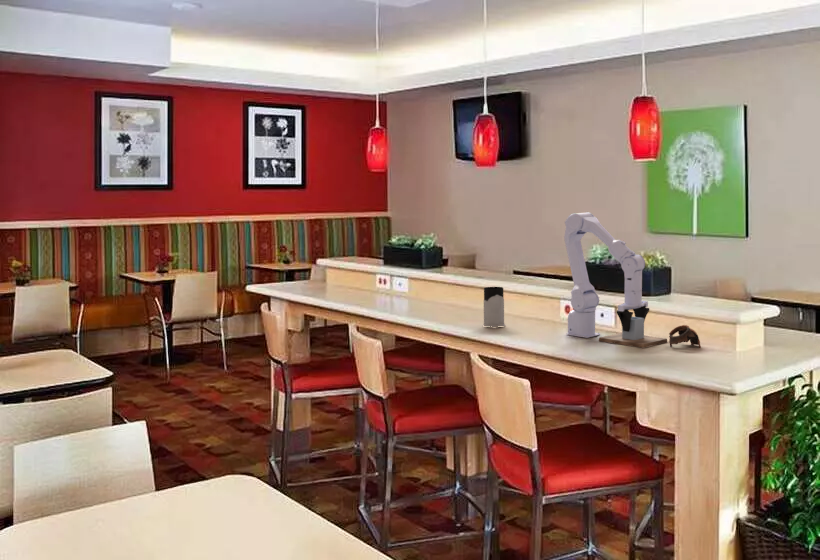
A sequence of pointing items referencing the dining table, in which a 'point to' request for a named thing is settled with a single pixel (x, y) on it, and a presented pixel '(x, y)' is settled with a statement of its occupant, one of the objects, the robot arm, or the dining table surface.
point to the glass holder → (493, 306)
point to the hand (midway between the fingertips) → (632, 329)
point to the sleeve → (635, 329)
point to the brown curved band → (684, 336)
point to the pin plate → (640, 343)
